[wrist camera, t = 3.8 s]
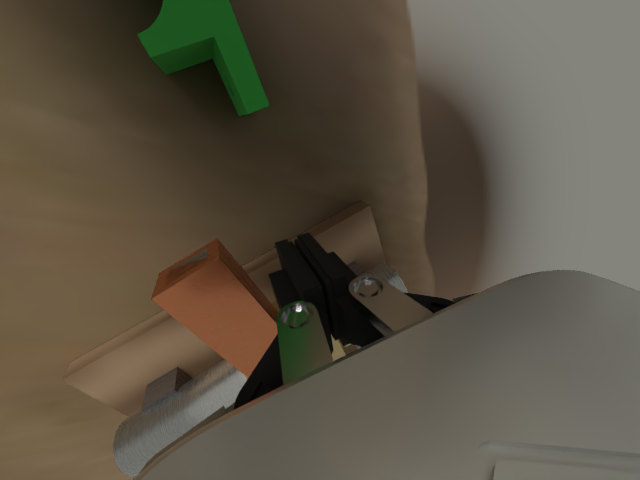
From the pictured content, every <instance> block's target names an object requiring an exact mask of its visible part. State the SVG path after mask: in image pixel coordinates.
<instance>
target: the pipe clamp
mask: <svg viewBox="0 0 640 480" xmlns="http://www.w3.org/2000/svg"><path fill="white" fill-rule="evenodd" d="M137 35H138V37H139V39H140V41H141V42H142V44H143V46H144V48H145V49H146V51H147V53H148V55H149V56H150V58H151V59H152V60H153V61H154V62H155V63H156V64H157V66H158V67H159V68H160V69H161V70H162V71H163V72H164V73H165V74H166V75H167V74H170V73H173V72H176V71H179V70H182V69H185V68H187V67H190V66H193V65H196V64H199V63H202V62H205V61H208V60H210V59H213V61H214V63H215V65H216V67H217V69H218V72H219V74H220V76H221V78H222V80H223V83H224V85H225V87H226V89H227V91H228V94H229V96H230V98H231V100H232V102H233V105H234V107H235V109H236V111H237V113H238V116H241V115H247V114H250V113H252V112H255V111H258V110H260V109H263V108H265V107H268V106H270V105H269V102H268V100H267V97H266V94H265V92H264V89H263V87H262V84H261V82H260V79H259V76H258V74H257V71H256V69H255V66H254V63H253V61H252V58H251V56H250V53H249V51H248V48H247V45H246V43H245V40H244V38H243V35H242V32H241V30H240V27H239V25H238V22H237V20H236V17H235V14H234V12H233V9H232V7H231V4H230V1H229V0H163V3H162V8H161V11H160V13H159V15H158V17H157V19H156V20H155V22H154V23H153V24H152V25H151V26H150V27H149V28H148V29H146V30H144V31H143V32H141V33H138V34H137Z"/></svg>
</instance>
